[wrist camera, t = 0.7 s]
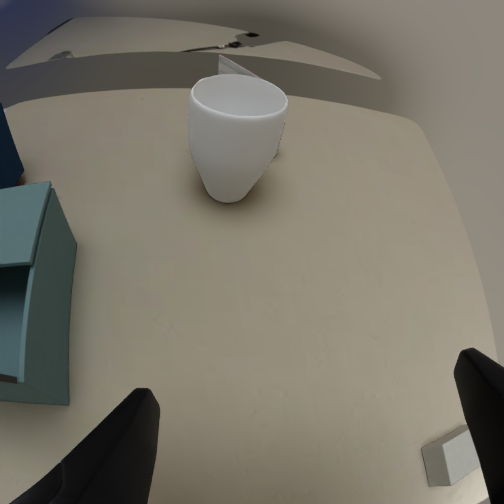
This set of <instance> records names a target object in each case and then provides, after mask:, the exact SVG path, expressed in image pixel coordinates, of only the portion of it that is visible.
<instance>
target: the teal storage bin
mask: <svg viewBox="0 0 504 504" xmlns="http://www.w3.org/2000/svg"><path fill="white" fill-rule="evenodd" d="M51 186H52V184H51V182H50V181H49V182H42V183H35V184H29V185H23V186H17V187H11V188H5V189H0V373H1V374H6V375H11V376H16V377H17V382H18V383H17V384H11V383H0V400H2V401H11V402H22V403H35V404H52V405H69V382H68V346H69V320H70V304H71V292H72V281H73V272H74V263H75V255H76V248H77V243H76V241H75V238H74V236H73V234H72V232H71V229H70V227H69V225H68V222H67V220H66V217H65V215H64V212H63V210H62V208H61V205H60V202H59V200H58V197H57V195H56V192H55V189H54V188H51Z"/></svg>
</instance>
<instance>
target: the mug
mask: <svg viewBox="0 0 504 504" xmlns="http://www.w3.org/2000/svg"><path fill="white" fill-rule="evenodd" d="M287 109H288V100H287V97H286V95H285V94H284V93H283V92H282V91H281V90H280V89H279V88H278V87H276V86H275V85H273V84H271V83H269V82H267V81H265V80H262V79H259V78H256V77H251V76H246V75H238V74H224V75H216V76H212V77H208V78H203V79H201V80H199V81H198V82H197V84H195V86H194V87H193V88H192V90H191V93H190V100H189V123H188V138H189V147H190V151H191V155H192V158H193V161H194V163H195V165H196V168H197V170H198V172H199V174H200V177H201V179H202V181H203V183H204V185H205V188H206V190H207V192H208V194H209V195H210V196H211V197H212V198H214V199H215V200H217V201H220V202H224V203H232V202H237V201H239V200H241V199H242V198H244V197H245V196H246V194H247V193H248V192H249V191H250V189H251V188H252V187H253V186H254V184H255V183H256V182H257V181H258V179H259V178H260V177H261V176H262V174H263V173H264V172H265V171H266V169H267V168H268V166H269V165H270V163H271V162H272V160H273V158H274V156H275V153H276V151H277V148H278V145H279V142H280V138H281V134H282V130H283V126H284V122H285V118H286V114H287Z"/></svg>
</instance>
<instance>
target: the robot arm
mask: <svg viewBox="0 0 504 504" xmlns="http://www.w3.org/2000/svg"><path fill="white" fill-rule="evenodd" d="M454 378H455V382H456V385H457V389H458V393H459V397H460V400H461V404H462V408H463V412H464V416H465V420H466V423H467V426H468V429H469V431H470V434H471V437H472V440H473V443H474V446H475V449H476V453H477V456H478V459H479V462H480V466H481V469H482V472H483V476H484V479H485V483H486V487H487V491H488V495H489V499H490V503H491V504H504V367H502V366H501V365H499V364H498V363H496V362H495V361H493V360H492V359H490V358H489V357H487V356H486V355H484V354H483V353H481V352H479V351H478V350H476V349H475V348H468V349H465V350H462V351H461V352H460V354H459V357H458V360H457V363H456V365H455V368H454ZM159 419H160V407H159V404H158V402H157V400H156V399H155V397H154V395H153V393H152V391H151V390H150V389H149V388H136V389H134V390H133V391H132V392H131V393H130V394H129V395H128V396H127V397H126V398H125V399H124V400H123V401H122V402H121V403H120V404H119V405H118V406H117V407H116V408H115V409H114V410H113V411H112V412H111V413H110V414H109V415H108V416H107V417H106V418H105V419H104V420H103V421H102V422H101V423H100V424H99V425H98V426H97V427H96V428H95V429H94V430H93V431H91V432H90V433H89V434H88V435H87V436H86V437H85V438H84V439H83V440H82V441H81V442H80V443H79V444H78V445H77V446H76V447H75V448H74V449H73V450H72V451H71V452H70V453H69V454H68V455H67V456H66V457H65V458H64V459H63V460H62V461H61V463H58V464H57V465H56V466H55V467H54V468H53V469H52V470H51V471H50V472H49V473H48V474H46V475H45V476H44V477H43V478H42V479H41V480H40V481H38V482H37V483H36V484H35V485H33V486H32V487H31V488H30V489H28V490H27V491H26V492H24V493H23V494H22V495H20V496H19V497H18V498H16V499H15V500H14V501H12V502H11V503H9V504H147V502H148V497H149V491H150V486H151V481H152V475H153V470H154V465H155V460H156V454H157V443H158V430H159Z"/></svg>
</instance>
